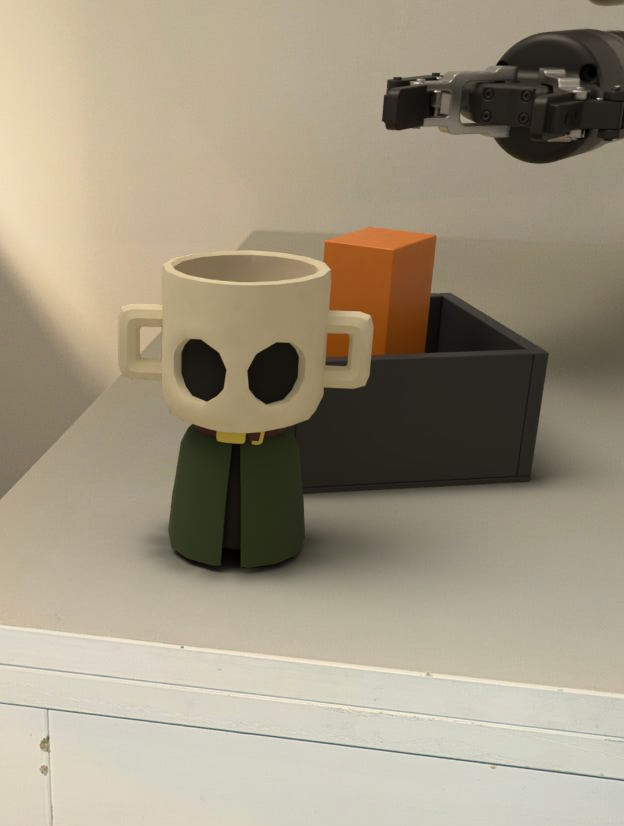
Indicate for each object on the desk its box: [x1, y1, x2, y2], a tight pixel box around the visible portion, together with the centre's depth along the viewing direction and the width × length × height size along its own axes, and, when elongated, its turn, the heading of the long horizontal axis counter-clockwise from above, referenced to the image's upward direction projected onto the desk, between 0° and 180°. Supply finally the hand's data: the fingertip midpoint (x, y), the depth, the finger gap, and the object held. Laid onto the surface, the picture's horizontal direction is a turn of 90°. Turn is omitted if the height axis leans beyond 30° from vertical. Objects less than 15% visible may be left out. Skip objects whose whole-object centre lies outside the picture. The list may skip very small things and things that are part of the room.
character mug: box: [117, 249, 374, 569], centre depth 58 cm, size 11×7×13 cm, turn 82°
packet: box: [322, 226, 438, 357], centre depth 70 cm, size 5×4×11 cm
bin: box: [289, 292, 550, 495], centre depth 72 cm, size 14×14×7 cm
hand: (462, 114), depth 71 cm, fingers open, 8 cm apart
